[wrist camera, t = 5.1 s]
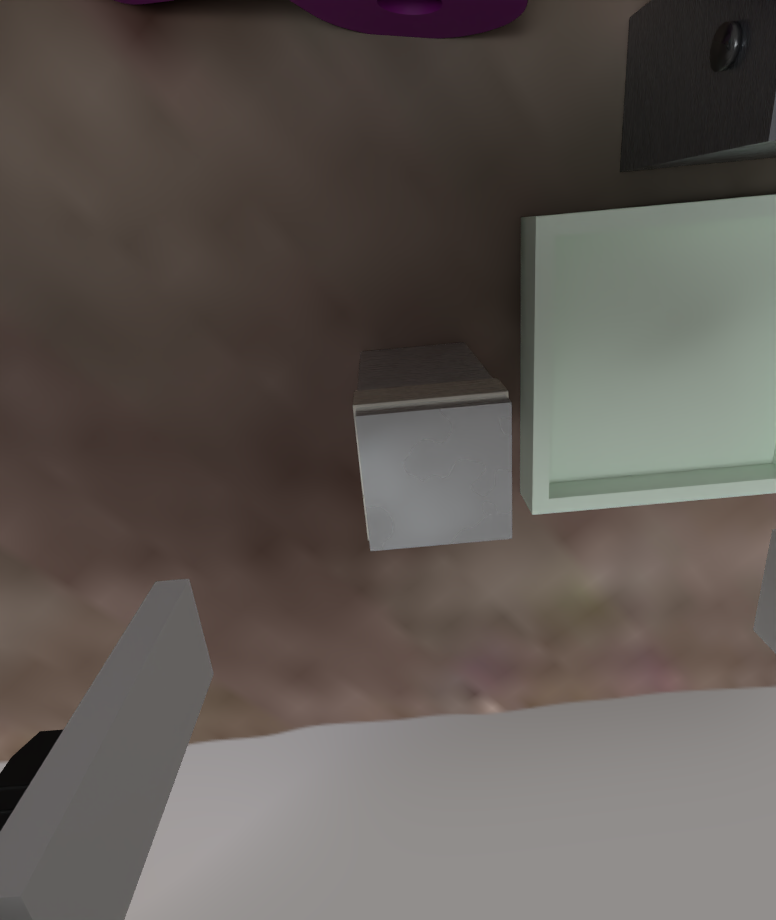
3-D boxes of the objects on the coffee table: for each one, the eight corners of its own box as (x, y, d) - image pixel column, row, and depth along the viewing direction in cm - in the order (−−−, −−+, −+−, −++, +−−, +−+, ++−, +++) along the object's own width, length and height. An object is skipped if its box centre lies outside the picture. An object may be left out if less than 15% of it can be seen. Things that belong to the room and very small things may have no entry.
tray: (519, 492, 31) (532, 514, 28) (520, 217, 25) (536, 216, 23) (774, 469, 30) (807, 490, 28) (827, 188, 25) (873, 185, 23)
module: (368, 450, 29) (367, 553, 20) (358, 349, 27) (351, 413, 18) (469, 441, 29) (514, 540, 20) (466, 339, 27) (514, 399, 18)
